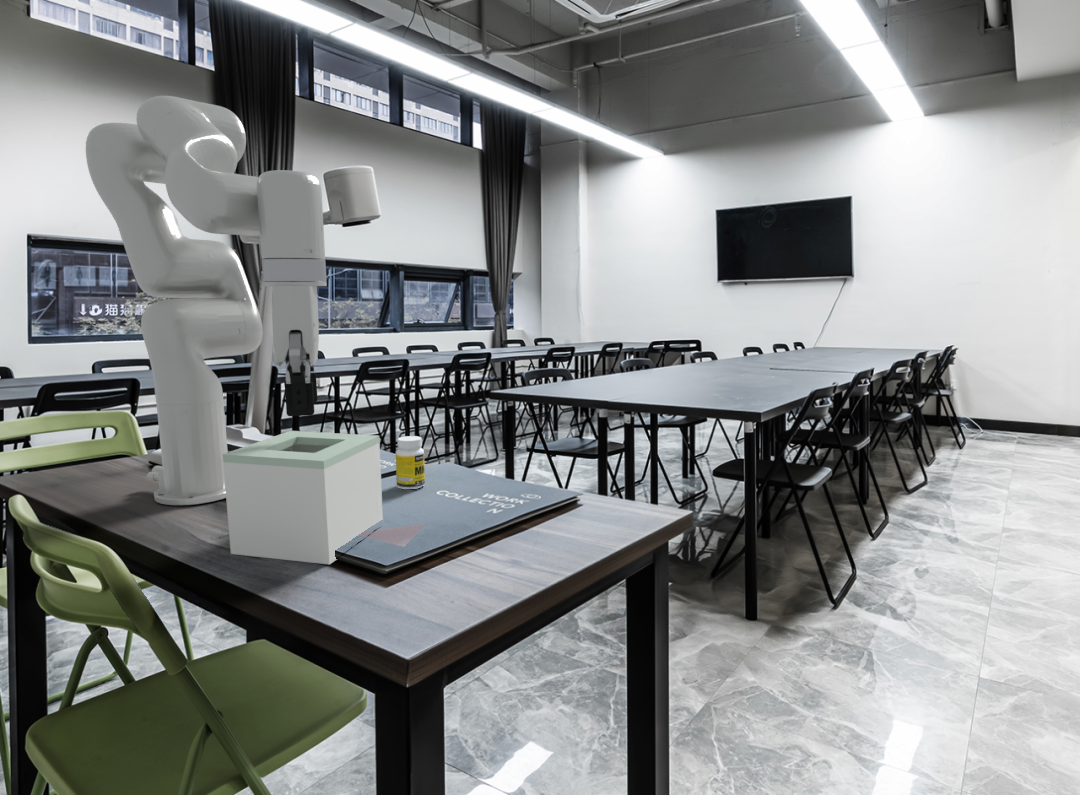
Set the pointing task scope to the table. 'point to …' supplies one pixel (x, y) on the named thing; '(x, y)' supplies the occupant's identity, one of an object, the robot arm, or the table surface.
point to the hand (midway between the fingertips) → (303, 408)
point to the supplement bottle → (410, 463)
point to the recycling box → (302, 494)
